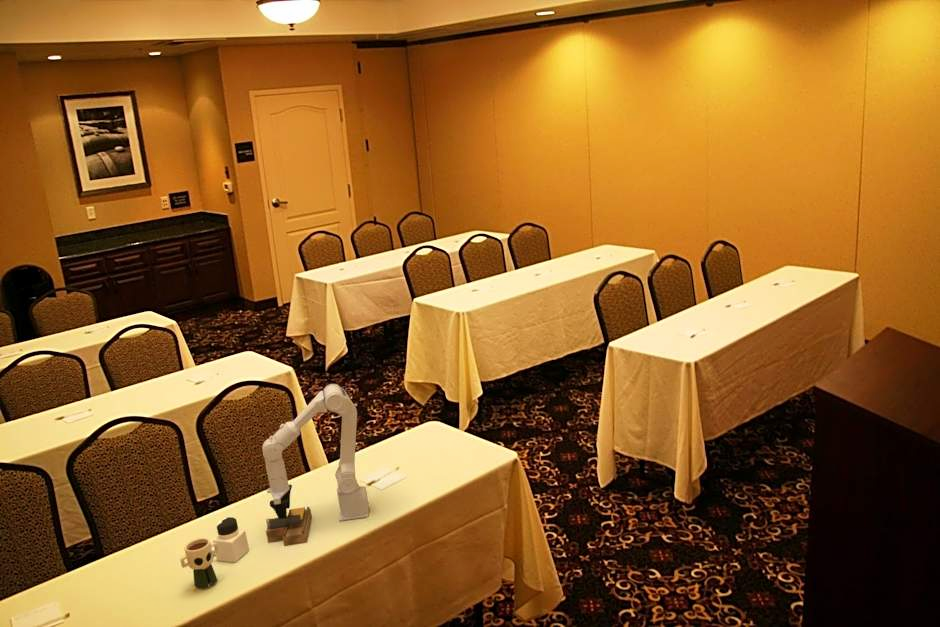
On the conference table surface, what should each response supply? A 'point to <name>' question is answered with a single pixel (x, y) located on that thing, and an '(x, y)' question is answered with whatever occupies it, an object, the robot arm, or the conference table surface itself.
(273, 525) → the lever
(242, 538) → the medicine bottle
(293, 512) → the wooden block
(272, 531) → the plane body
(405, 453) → the conference table surface
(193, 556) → the character mug
